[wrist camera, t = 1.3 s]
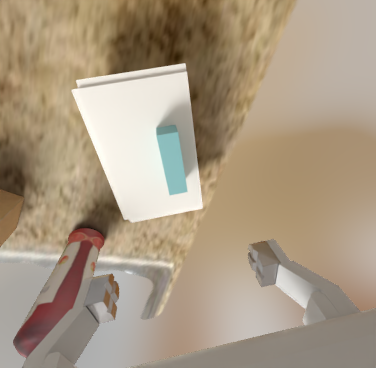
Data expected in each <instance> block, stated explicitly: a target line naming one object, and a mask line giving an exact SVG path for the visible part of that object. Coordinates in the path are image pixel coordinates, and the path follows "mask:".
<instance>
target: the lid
mask: <svg viewBox="0 0 376 368" xmlns="http://www.w3.org/2000/svg"><path fill="white" fill-rule="evenodd" d="M76 83H77V85H78V88H77V89H73V90H72V93H73V95H74V98H75V100H76V103H77V105H78V108H79V110H80V113H81V115H82V117H83V120H84V122H85V125H86V127H87V130H88V132H89V135H90V137H91V139H92V142H93V144H94V147H95V149H96V152H97V154H98V157H99V159H100V161H101V164H102V166H103V169H104V171H105V174H106V176H107V179H108V181H109V184H110V186H111V188H112V191H113V193H114V196H115V198H116V201H117V203H118V206H119V208H120V210H121V213H122V215H123V218H124V220H127V219H129V221H130V222H131V223H132V222H137V221H142V220H147V219H152V218H157V217H162V216H167V215H172V214H177V213H182V212H187V211H192V210H197V209H202V206H203V205H202V196H201V188H200V179H199V170H198V162H197V153H196V145H195V136H194V128H193V119H192V111H191V102H190V93H189V85H188V76H187V72H186V64H185V63H184V64H177V65H171V66H164V67H158V68H152V69H145V70H139V71H132V72H126V73H119V74H113V75H107V76H100V77H94V78H87V79H81V80H76Z"/></svg>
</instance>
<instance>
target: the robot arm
mask: <svg viewBox="0 0 376 368" xmlns="http://www.w3.org/2000/svg"><path fill="white" fill-rule="evenodd" d="M248 249H249V251H250V252H249V253H248V259H249V263H250V265H251V268H252V270H254V271H255V272H256V278H257V280H258V282H259V284H260V286H261V287H264V286H268V285H274V284H276V286H277V287H279V288H280V289H281V290H282V291H283V292H285V293H286V294H287V295H289V296H290V297H291V298H292V299H293V300H295V301H296V302H297V303H298V304H300V305H301V306H302V307H303V308H305V309H306V311H305V314H304V317H303V320H302V321H303V322H304V324H305V325H303V326H299V327H295V328H291V329H287V330H282V331H278V332H274V333H270V334H266V335H262V336H257V337H253V338H249V339H245V340H241V341H237V342H233V343H228V344H224V345H220V346H216V347H212V348H207V349H203V350H199V351H195V352H191V353H187V354H182V355H178V356H174V357H170V358H166V359H162V360H158V361H154V362H149V363H145V364H141V365H137V366H132V367H128V368H376V308H374V309H370V310H366V311H360V310H359V309H358V308H357V307H356V306H355V305H354V303H353V302H352V301H351V300H350V299H349V298H348V296H346V294H345V293H344V292H343V291H342V289H341V288H340V287H339V286H337V285H336V284H334V283H332V282H330V281H328V280H327V279H325V278H323V277H321V276H319V275H318V274H316V273H314V272H312V271H311V270H309V269H307V268H305V267H303V266H302V265H300V264H298V263H296V262H294V261H290V260H289V258H288V257H287V256H286V254H285V253H284V252H283V250H282V249H281V247H280V246H279V245H278V243H277V242H276V241H275V240H274V239H271V240H267V241H261V242H257V243H253V244H249V246H248ZM118 299H119V286H118V283H117V282H116V281H114V276H113V274H107V275H102V276H97V277H91V278H86V279H84V280H83V282H82V284H81V287H80V289H79V292H78V295H77V298H76V301H75V303H74V306H73V309H70V310H69V311H68V312H67V313H66V314H65V315H64V317H63V318H62V319H61V320H60V321H59V322H58V323H57V324H56V326H55V327H54V328H53V329H52V330H51V331H50V332H49V333H48V334H47V336H46V337H45V338H44V339H43V340H42V341H41V342H40V343H39V345H38V346H37V347H36V348H35V349H34V350H33V351H32V352H31V353H30V355H29V356H28V357H27V358H26V360H25V362H24V365H23V367H22V368H77V367H76V366H75V363H76V361H77V360H78V358H79V357H80V355H81V354H82V352H83V350H84V349H85V347H86V346H87V344H88V342H89V341H90V339H91V337H92V336H93V334H94V333H95V331H96V330H97V328H98V326H99V324H101V323H105V322H109V321H113V320H115V316H116V311H117V306H116V304H115V303H116V302H117V300H118Z"/></svg>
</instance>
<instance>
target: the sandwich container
mask: <svg viewBox="0 0 376 368" xmlns="http://www.w3.org/2000/svg"><path fill="white" fill-rule="evenodd" d="M23 200H24V197H22V196H19V195H16V194H13V193H10V192H7V191H4V190H1V189H0V247H1V246H2V244H3V243H4V242H5V241H6V240H7V239H8V237H9V236H10V235H11V234H12V233H13V231H14V230H15V229H16V228H17V224H18V220H19V216H20V212H21V208H22V204H23Z"/></svg>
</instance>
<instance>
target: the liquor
mask: <svg viewBox="0 0 376 368" xmlns="http://www.w3.org/2000/svg"><path fill="white" fill-rule="evenodd" d="M68 241H69V242H68V244H67V246H66V248H65V250H64V252H63V253H62V255H61V257H60V259H59V261H58V263H57V264H56V266H55V268H54V270H53V272H52V274H51V275H50V277H49V279H48V280H47V282H46V284H45V285H44V287H43V289H42V290H41V292H40V294H39V296H38V297H37V299H36V301H35V303H34V304H33V306H32V308H31V310H30V312H29V314H28V315H27V317H26V319H25V321H24V323H23V324H22V326H21V328H20V329H19V331H18V333H17V335H16V336H15V338H14V340H13V344H14V346H15V348H16V350H17V351H18V353H19V354H20V355H22V356H24V357H26V358H27V357H28V356H29V355H30V353H31V352H32V351H33V350H34V349H35V348H36V347H37V346H38V345H39V343H40V342H41V341H42V340H43V339H44V338H45V337H46V336H47V334H48V333H49V332H50V331H51V330H52V329H53V328H54V327H55V326H56V324H57V323H58V322H59V321H60V320H61V319H62V318H63V317H64V315H65V314H66V313H67V312H68V311H69V310H70V309H73V306H74V303H75V301H76V298H77V295H78V292H79V289H80V287H81V284H82V282H83V280H84V279H86V278H91V277H93V275H94V271H95V267H96V263H97V259H98V255H99V251H100V248H102V246H103V245H104V237H103V236H102V235H101V234H100V233H99V232H97V231H96V230H93V229H89V228H81V229H77V230H74V231H73V232H72V233H70V235H69V237H68Z"/></svg>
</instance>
